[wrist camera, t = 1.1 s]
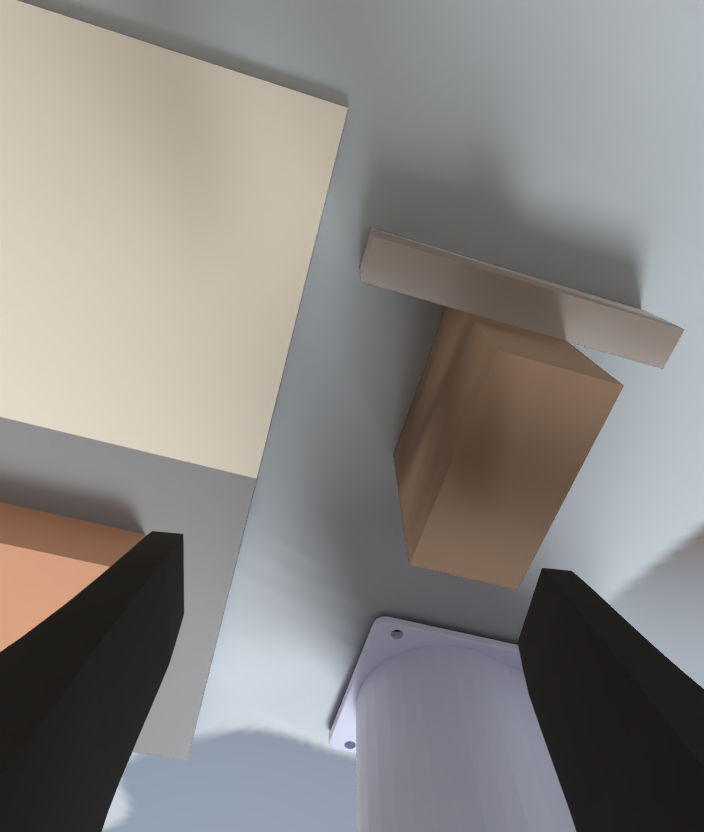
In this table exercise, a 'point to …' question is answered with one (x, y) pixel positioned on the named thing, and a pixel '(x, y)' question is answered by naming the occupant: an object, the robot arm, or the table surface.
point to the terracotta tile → (49, 563)
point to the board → (149, 297)
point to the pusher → (500, 403)
